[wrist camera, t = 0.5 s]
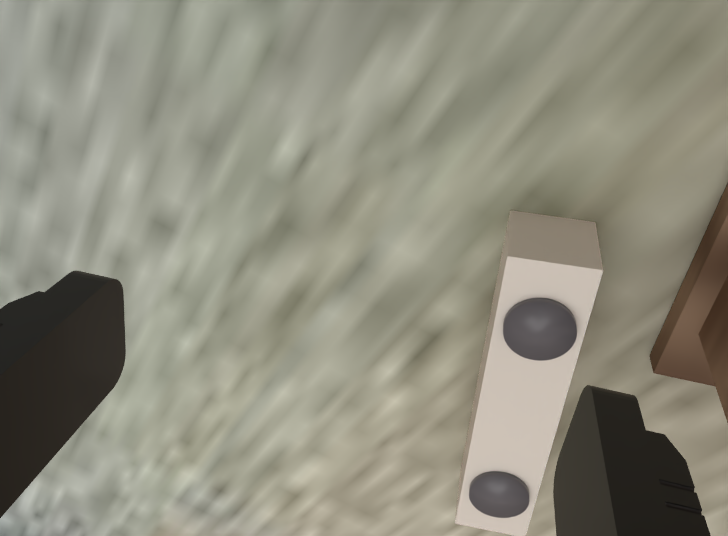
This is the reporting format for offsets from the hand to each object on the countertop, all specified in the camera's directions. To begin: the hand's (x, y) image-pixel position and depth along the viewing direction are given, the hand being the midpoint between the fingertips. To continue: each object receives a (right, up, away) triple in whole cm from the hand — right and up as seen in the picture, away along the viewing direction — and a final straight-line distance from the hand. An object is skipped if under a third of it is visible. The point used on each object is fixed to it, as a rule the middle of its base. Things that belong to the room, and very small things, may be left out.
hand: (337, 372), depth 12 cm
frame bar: (+8, -3, +21) cm, 23 cm away
